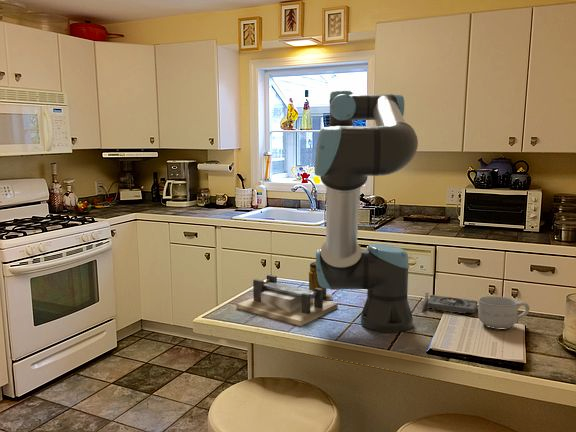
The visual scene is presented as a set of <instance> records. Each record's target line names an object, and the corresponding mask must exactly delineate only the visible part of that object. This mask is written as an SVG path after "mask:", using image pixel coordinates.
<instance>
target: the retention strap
mask: <svg viewBox="0 0 576 432" xmlns="http://www.w3.org/2000/svg"><path fill="white" fill-rule="evenodd" d="M263 281H264V288H267V289H271V290H275V291H279V292H283V293H287V294H291V295H295V296H299V297H302V293H307V294H310V299H311V298H313V297H316V296H318V295H319V293H318V292H317V291H316V292H314V291H310V290H309V289H307V290H305V289H306V288H303V289H301V288H302V287H298V288H297V286H294V287H293V285H288V284H285V283H280V282H277V283H276V282H272V281H271V280H270V279H268V280H267V279H266V280H263ZM284 284H285V285H284Z"/></svg>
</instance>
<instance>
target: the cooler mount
mask: <svg viewBox="0 0 576 432" xmlns="http://www.w3.org/2000/svg"><path fill="white" fill-rule="evenodd" d="M268 279H270V280H271V281H272V282H276V283H278V277H277V275H273V274H267V275H266V280H268ZM264 281H265V280H261V279H257V278H255V279H252V282H253V283H252V285H253V288H252V289H253V293H252V294H253V297H252V298H249V299H245V300H244V301H241V302H238V303H236V310H237V309H238V310H241V311H245V312H248V313H252V314H256V315H260V316H263V317H267V318H271V319H274V320H278V321H280V322H285V323H289V324H292V325H294V326H295V325H296V326H299V327H302V326H304V325H306V324H309V323H310V322H312V321H314V320H316V319H318V318H320V317H323V316H324V315H326V314H328V313H330V312H332V311H334V310H337V309H338V308H339V304H338V302H337V303H336V302H333V301H329V300H323V289H320V288H315V289H314V292H316V291H317V292H318V293H319V295H318V296H316V297H314V298H311V299H310V294H307V293H302V297H299V296H295V295H291V294H287V293H283V292H279V291H275V290H271V289H267V288H264ZM283 284H284V285H286V284H285V283H283ZM292 286H293V285H292ZM293 287H295V286H293ZM296 287H297V286H296ZM297 288H299V287H297ZM300 288H301V289H305V290H308V289H306V288H303V287H300ZM310 291H312V290H310Z"/></svg>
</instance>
